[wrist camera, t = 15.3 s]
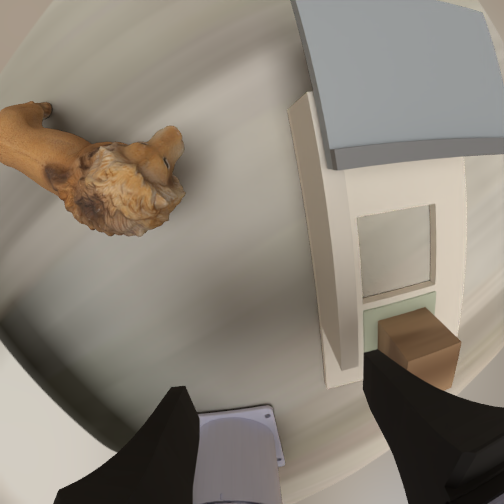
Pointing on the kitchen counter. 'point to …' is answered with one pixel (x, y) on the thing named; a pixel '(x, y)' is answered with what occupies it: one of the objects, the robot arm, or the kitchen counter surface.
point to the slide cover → (401, 80)
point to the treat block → (421, 346)
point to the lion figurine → (95, 171)
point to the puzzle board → (347, 242)
